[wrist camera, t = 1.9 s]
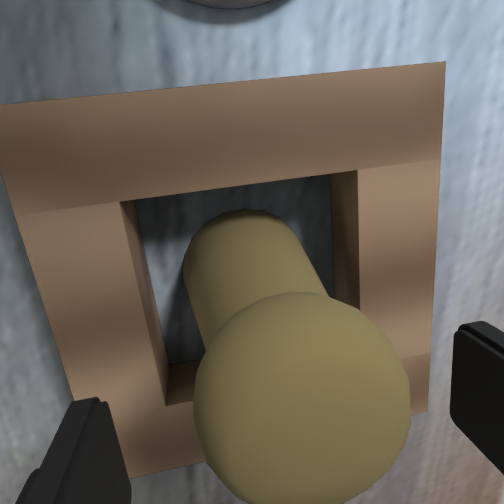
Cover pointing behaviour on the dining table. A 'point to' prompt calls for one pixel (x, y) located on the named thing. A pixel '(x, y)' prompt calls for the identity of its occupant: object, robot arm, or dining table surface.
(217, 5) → the coaster
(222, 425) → the cork
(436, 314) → the dining table surface
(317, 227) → the dining table surface
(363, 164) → the square frame
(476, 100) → the dining table surface
